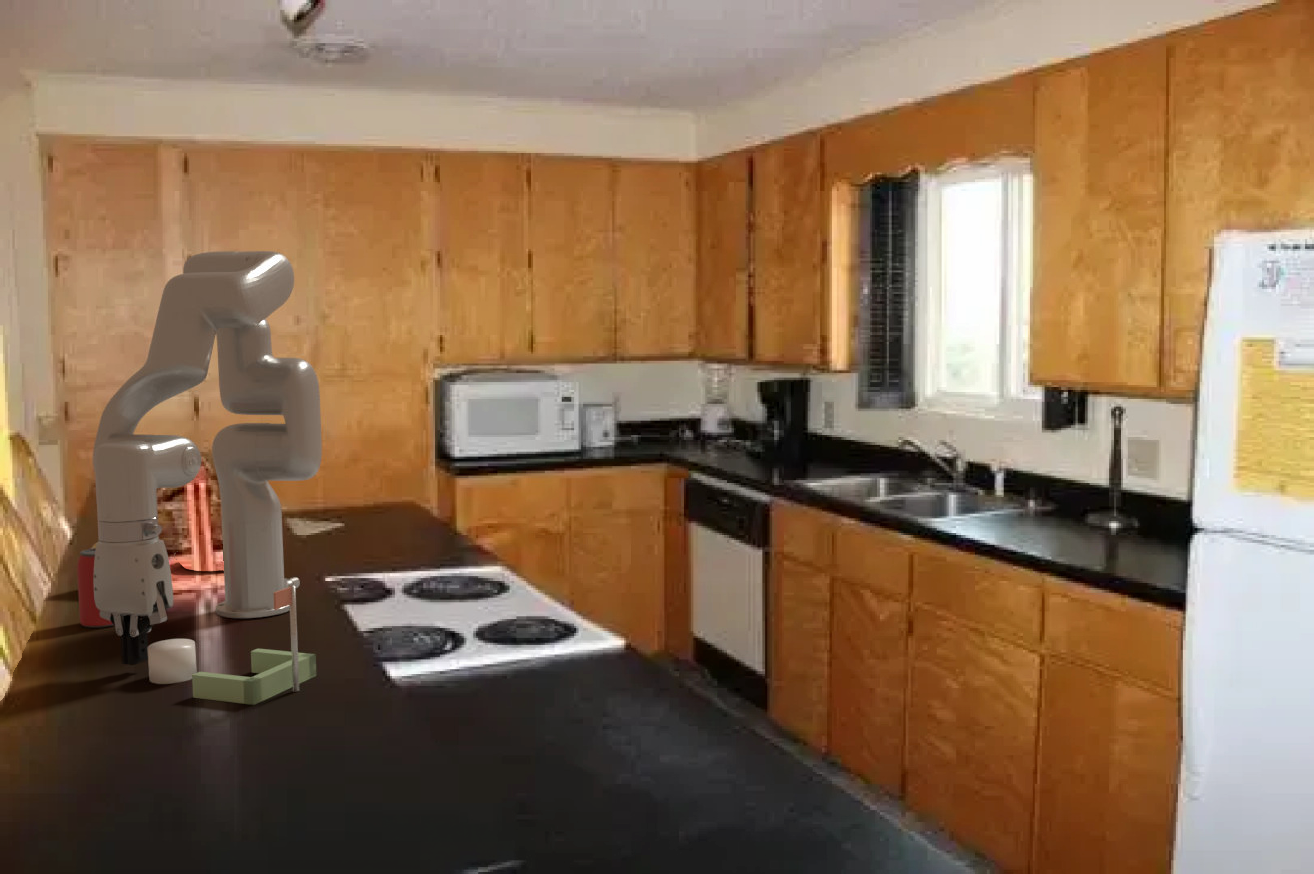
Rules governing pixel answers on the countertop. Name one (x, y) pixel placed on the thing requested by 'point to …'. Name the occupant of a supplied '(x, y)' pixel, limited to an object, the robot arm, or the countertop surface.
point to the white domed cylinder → (171, 661)
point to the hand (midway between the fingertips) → (135, 661)
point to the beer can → (88, 592)
